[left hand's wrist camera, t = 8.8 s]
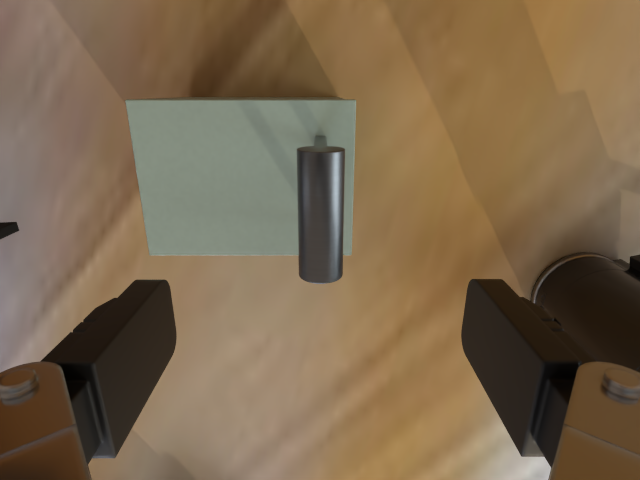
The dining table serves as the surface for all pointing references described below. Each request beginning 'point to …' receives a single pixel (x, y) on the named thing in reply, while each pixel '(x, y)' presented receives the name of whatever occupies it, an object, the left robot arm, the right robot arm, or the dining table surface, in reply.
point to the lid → (248, 178)
